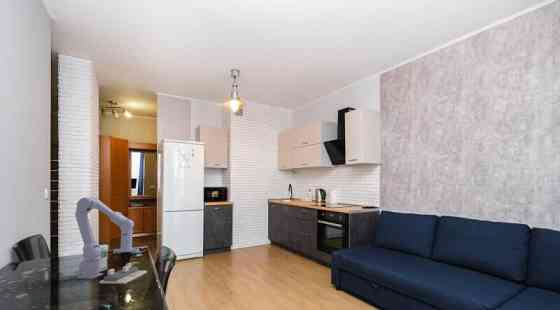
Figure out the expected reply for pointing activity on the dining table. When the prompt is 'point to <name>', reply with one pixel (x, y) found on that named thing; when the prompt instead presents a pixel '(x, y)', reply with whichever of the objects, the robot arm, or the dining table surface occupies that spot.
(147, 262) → the dining table surface
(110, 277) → the switch unit
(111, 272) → the knob near
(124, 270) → the knob middle
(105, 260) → the syrup box
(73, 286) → the dining table surface
